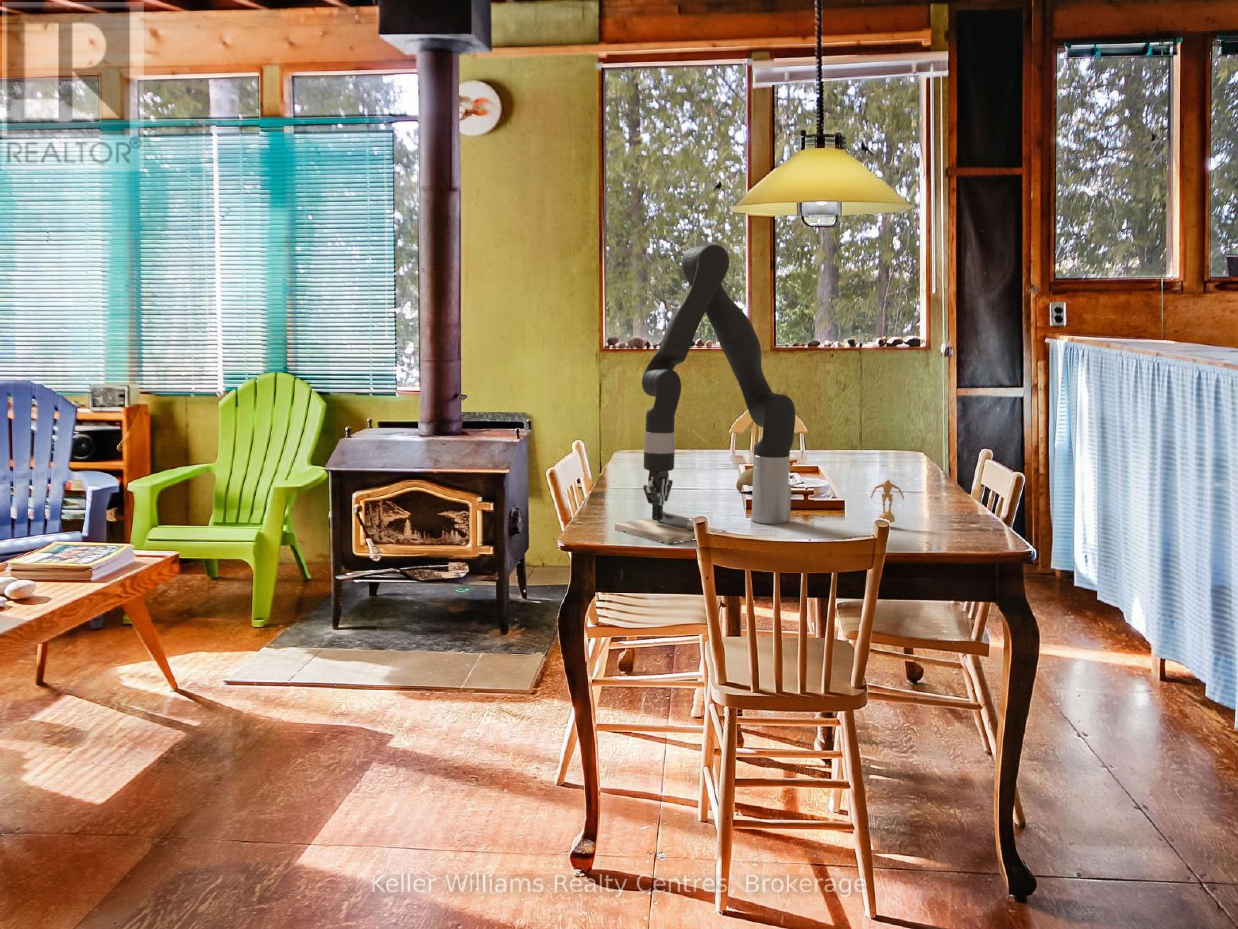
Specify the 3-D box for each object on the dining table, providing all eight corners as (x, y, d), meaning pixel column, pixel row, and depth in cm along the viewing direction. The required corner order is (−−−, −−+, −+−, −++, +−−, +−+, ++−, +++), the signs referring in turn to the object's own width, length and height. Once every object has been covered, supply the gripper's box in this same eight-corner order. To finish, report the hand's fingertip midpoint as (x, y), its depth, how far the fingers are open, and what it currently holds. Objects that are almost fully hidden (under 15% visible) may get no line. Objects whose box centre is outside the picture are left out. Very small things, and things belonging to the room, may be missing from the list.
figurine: (870, 527, 282) (872, 481, 281) (868, 523, 288) (870, 477, 287) (903, 529, 281) (906, 482, 280) (901, 524, 287) (903, 479, 285)
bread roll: (788, 495, 330) (789, 469, 329) (738, 495, 330) (739, 468, 329) (782, 490, 340) (783, 464, 339) (734, 490, 339) (734, 464, 338)
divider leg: (702, 529, 267) (702, 519, 267) (692, 530, 265) (692, 521, 265) (663, 519, 278) (664, 510, 278) (654, 521, 277) (654, 511, 276)
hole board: (671, 522, 285) (671, 516, 285) (725, 536, 269) (726, 529, 268) (614, 529, 275) (614, 522, 275) (667, 544, 258) (667, 537, 258)
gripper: (662, 454, 264) (660, 526, 266) (683, 448, 276) (681, 517, 278) (633, 451, 267) (632, 522, 269) (656, 446, 279) (654, 514, 281)
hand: (657, 520), depth 274 cm, fingers closed
